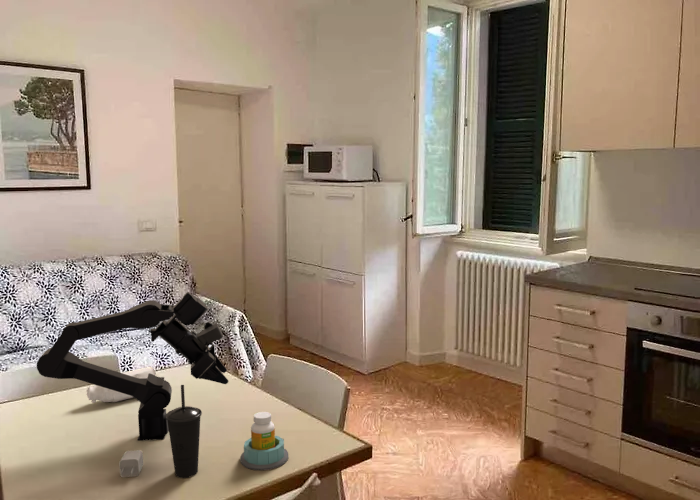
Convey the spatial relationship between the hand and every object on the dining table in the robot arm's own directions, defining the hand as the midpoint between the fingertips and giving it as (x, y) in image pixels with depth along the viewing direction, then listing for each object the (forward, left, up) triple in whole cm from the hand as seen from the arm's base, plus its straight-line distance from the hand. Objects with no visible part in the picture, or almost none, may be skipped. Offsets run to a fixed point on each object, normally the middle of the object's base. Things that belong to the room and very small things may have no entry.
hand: (226, 377), depth 156 cm
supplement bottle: (+10, -19, -13) cm, 25 cm away
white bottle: (-33, +24, -14) cm, 43 cm away
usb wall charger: (-18, -24, -14) cm, 33 cm away
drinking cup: (-6, -24, -14) cm, 28 cm away
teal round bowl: (+11, -19, -14) cm, 26 cm away
